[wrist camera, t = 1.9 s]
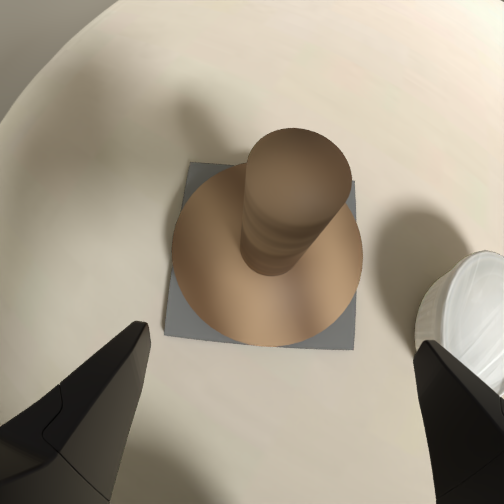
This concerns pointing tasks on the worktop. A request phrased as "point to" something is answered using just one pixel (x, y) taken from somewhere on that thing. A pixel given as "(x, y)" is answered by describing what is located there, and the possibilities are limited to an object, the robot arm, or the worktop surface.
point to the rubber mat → (193, 327)
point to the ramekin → (469, 316)
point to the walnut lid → (271, 242)
